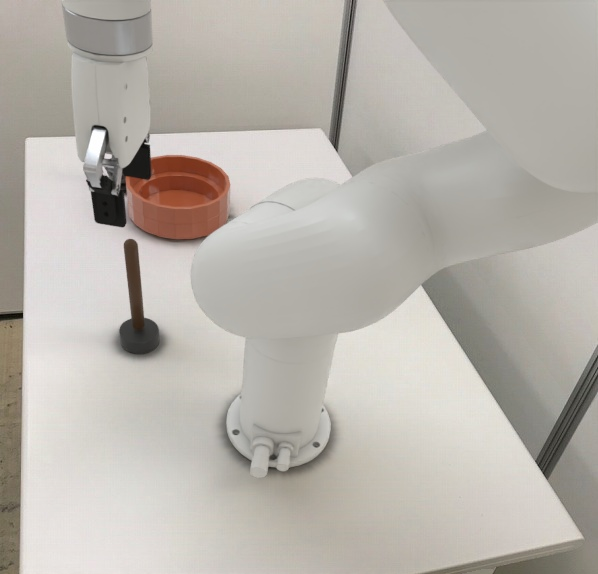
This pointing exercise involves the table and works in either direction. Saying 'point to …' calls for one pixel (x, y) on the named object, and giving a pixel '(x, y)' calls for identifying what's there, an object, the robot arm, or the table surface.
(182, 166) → the bowl
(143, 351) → the plunger
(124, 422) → the table surface
